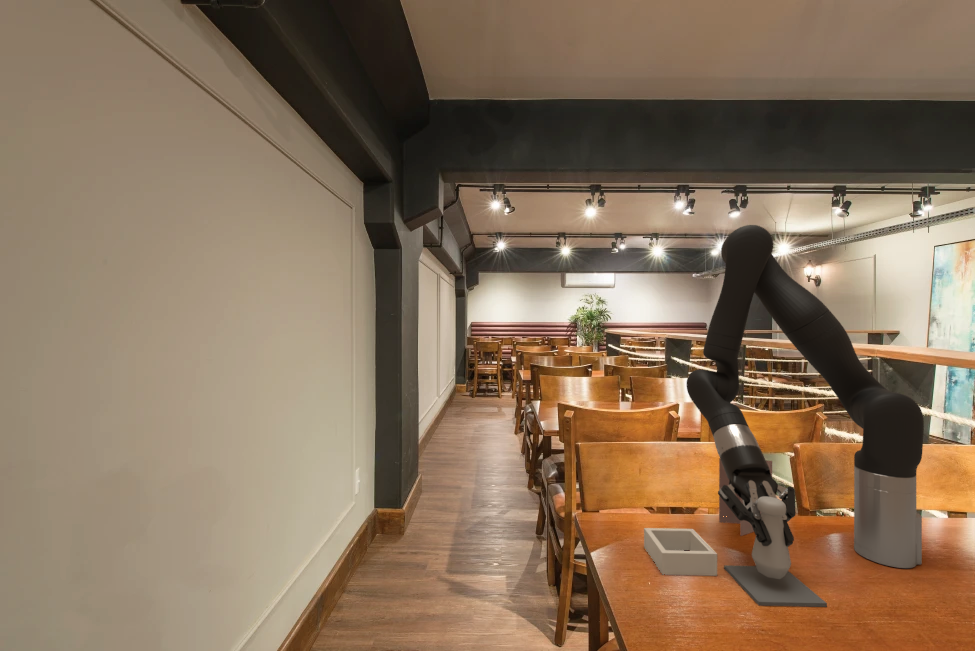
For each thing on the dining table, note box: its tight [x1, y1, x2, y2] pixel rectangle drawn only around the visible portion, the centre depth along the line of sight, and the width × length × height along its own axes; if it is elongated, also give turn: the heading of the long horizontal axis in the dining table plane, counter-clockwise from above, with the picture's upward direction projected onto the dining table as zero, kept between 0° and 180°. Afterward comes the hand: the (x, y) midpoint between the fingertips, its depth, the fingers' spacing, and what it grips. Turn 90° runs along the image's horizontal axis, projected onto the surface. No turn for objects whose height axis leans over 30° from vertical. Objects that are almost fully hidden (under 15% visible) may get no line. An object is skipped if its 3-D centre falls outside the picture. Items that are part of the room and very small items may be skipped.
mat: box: [723, 565, 828, 608], centre depth 77 cm, size 11×11×1 cm
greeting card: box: [718, 457, 773, 537], centre depth 99 cm, size 11×7×15 cm, turn 81°
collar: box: [643, 527, 718, 577], centre depth 85 cm, size 10×10×4 cm
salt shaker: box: [751, 496, 792, 579], centre depth 77 cm, size 6×6×13 cm
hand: (778, 544), depth 75 cm, fingers closed on salt shaker, 3 cm apart
